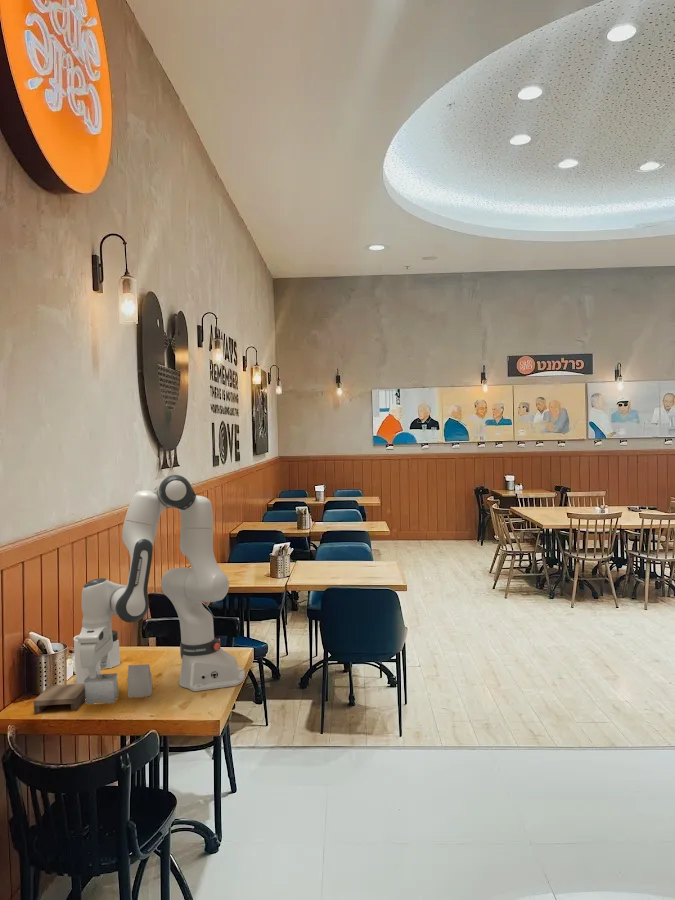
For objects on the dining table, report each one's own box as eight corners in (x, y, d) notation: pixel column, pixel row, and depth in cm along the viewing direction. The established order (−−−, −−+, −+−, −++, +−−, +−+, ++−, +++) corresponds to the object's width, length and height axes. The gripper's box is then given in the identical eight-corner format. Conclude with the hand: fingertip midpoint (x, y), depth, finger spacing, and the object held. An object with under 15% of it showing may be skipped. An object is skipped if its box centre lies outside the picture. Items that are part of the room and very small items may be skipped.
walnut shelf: (89, 695, 213) (88, 683, 213) (76, 710, 201) (75, 698, 201) (49, 697, 213) (49, 685, 213) (34, 713, 201) (33, 701, 201)
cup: (92, 686, 221) (89, 640, 220) (71, 685, 223) (68, 640, 222) (105, 677, 229) (103, 632, 228) (85, 676, 231) (82, 632, 230)
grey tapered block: (149, 696, 210) (147, 666, 209) (128, 697, 210) (126, 667, 209) (152, 692, 213) (150, 662, 213) (132, 693, 213) (130, 663, 213)
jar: (94, 664, 242) (92, 633, 242) (116, 659, 247) (114, 628, 246) (99, 671, 235) (97, 639, 234) (122, 666, 239) (120, 634, 239)
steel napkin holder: (118, 697, 211) (117, 673, 210) (114, 703, 206) (112, 678, 206) (90, 699, 210) (89, 675, 210) (85, 705, 206) (83, 680, 205)
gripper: (98, 621, 218) (99, 662, 218) (75, 639, 197) (77, 684, 198) (117, 620, 218) (118, 661, 218) (96, 638, 198) (97, 683, 198)
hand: (98, 672), depth 208 cm, fingers open, 8 cm apart
